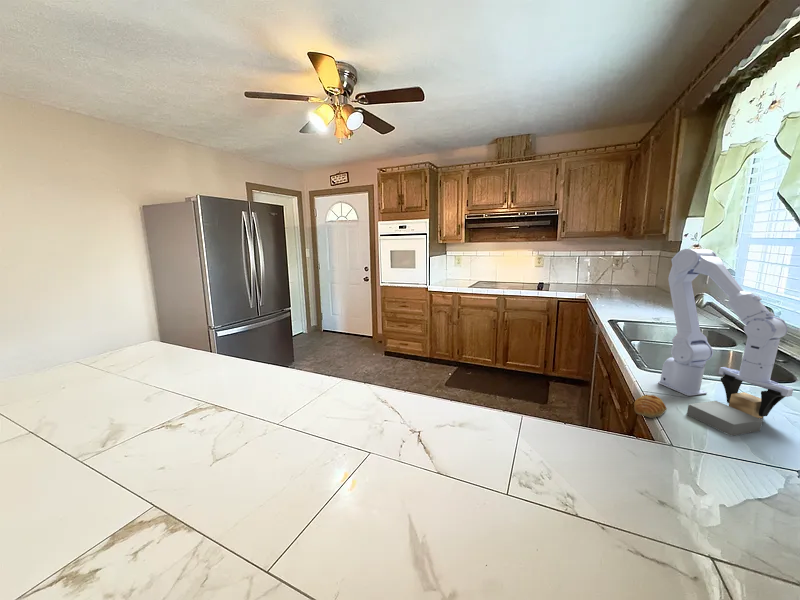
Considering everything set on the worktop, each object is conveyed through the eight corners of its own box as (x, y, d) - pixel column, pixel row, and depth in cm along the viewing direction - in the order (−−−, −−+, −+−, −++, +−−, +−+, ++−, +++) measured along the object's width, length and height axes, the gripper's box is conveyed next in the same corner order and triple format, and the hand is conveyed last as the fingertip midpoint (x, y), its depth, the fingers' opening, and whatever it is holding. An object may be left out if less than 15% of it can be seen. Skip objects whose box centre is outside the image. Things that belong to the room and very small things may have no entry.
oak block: (727, 410, 92) (731, 393, 91) (740, 408, 94) (744, 392, 93) (749, 420, 88) (754, 402, 87) (763, 417, 89) (767, 400, 88)
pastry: (657, 423, 85) (660, 409, 84) (627, 412, 90) (629, 399, 89) (666, 412, 91) (669, 399, 90) (637, 402, 96) (639, 390, 95)
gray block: (686, 414, 89) (688, 404, 89) (713, 410, 92) (715, 400, 91) (731, 435, 80) (733, 424, 79) (759, 431, 82) (762, 420, 82)
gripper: (806, 371, 82) (792, 421, 84) (735, 351, 96) (725, 395, 98) (787, 373, 80) (773, 424, 83) (717, 353, 94) (707, 397, 96)
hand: (746, 409), depth 90 cm, fingers open, 6 cm apart
